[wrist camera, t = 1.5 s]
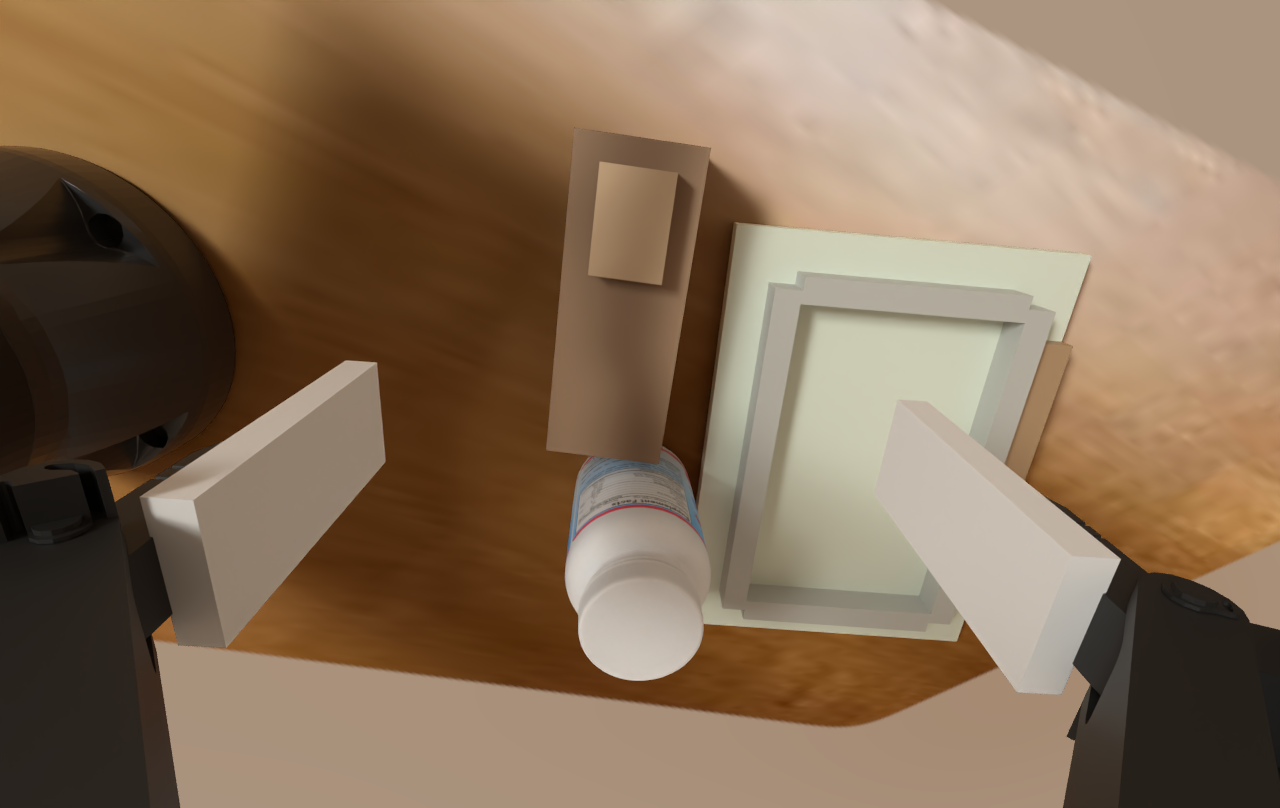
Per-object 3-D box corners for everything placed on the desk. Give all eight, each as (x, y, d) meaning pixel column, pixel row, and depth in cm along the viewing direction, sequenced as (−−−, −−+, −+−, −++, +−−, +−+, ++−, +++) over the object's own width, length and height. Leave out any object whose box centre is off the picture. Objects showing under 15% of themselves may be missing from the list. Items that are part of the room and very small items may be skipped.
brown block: (560, 408, 31) (542, 460, 26) (586, 134, 26) (571, 126, 21) (656, 420, 31) (659, 475, 26) (699, 151, 27) (713, 147, 21)
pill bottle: (664, 546, 34) (687, 714, 23) (560, 515, 33) (535, 674, 22) (707, 454, 32) (752, 591, 21) (597, 417, 31) (589, 542, 20)
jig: (681, 610, 35) (684, 641, 33) (733, 221, 27) (742, 227, 25) (948, 629, 36) (969, 661, 34) (1076, 252, 28) (1116, 260, 26)
